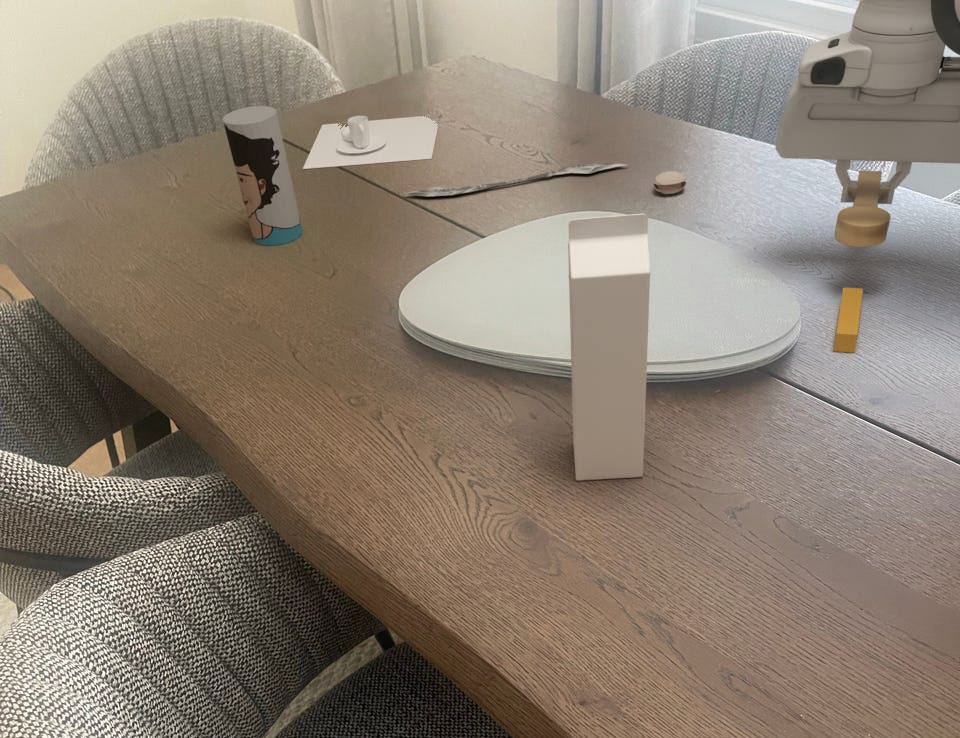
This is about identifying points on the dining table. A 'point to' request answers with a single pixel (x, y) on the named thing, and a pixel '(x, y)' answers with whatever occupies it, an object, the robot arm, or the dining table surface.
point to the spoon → (864, 215)
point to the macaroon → (669, 182)
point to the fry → (848, 320)
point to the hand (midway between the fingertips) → (865, 201)
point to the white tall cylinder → (263, 174)
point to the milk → (609, 343)
